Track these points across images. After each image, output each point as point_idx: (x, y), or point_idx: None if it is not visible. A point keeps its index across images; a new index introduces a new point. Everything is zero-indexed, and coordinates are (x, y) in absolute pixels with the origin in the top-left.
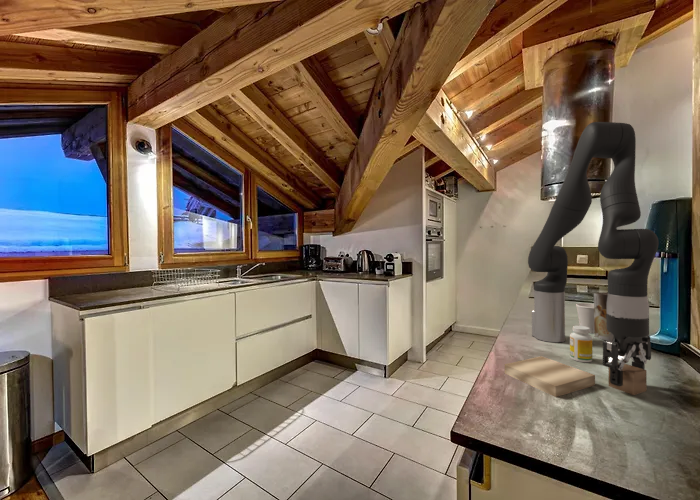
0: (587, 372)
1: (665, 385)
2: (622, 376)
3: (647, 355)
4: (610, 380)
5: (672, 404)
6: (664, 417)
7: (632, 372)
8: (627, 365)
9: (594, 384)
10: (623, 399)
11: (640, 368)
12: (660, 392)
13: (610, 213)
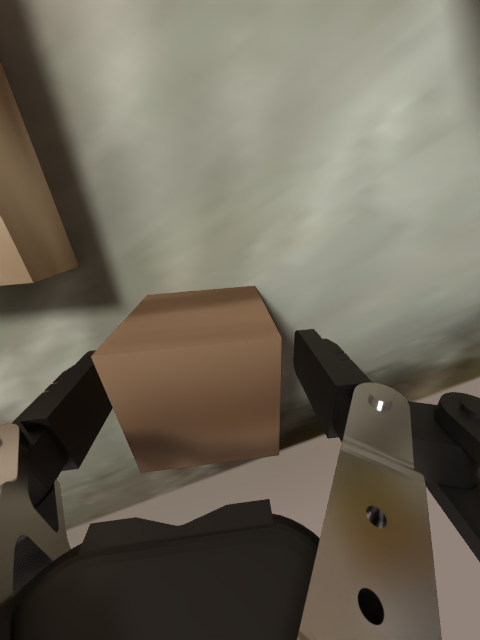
0: (2, 227)
1: (380, 360)
2: (97, 430)
3: (438, 500)
4: (66, 371)
5: None
6: (118, 472)
7: (156, 460)
8: (256, 388)
9: (71, 267)
10: None
11: (275, 436)
12: (290, 388)
13: None
